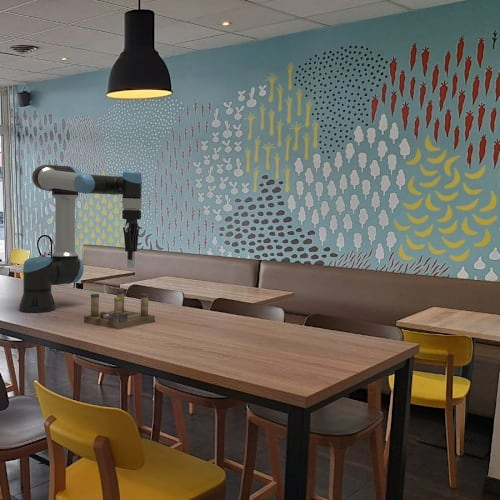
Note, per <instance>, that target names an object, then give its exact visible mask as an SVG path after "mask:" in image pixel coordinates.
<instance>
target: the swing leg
mask: <svg viewBox="0 0 500 500" xmlns="http://www.w3.org/2000/svg"><path fill="white" fill-rule="evenodd" d="M113 301H114V302H113V311H114V314H122V297H117V296H116V297H113ZM106 312H107V311H101V312H99V313H100V317H102V318H106V319H109V314H106Z"/></svg>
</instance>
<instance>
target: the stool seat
mask: <svg viewBox="0 0 500 500" xmlns="http://www.w3.org/2000/svg"><path fill="white" fill-rule="evenodd" d="M125 293H126V292H125V290H116V297H122V314H114V310H111V311H105V312H106V314H109V319H106V318H102V317H100V312H99V310H100V309H99V300H100V299H99V297H100V294H99V293H91V294H90V314H88V315H84V316H83V323H85V324H92V325H95V326H100V327H106V328H110V329H115V330H121V329H125V328H131V327H136V326H141V325H145V324H150V323H155V321H156V317H155V316H156V315H153V314H149V297H150V296H149V294H148V293H141V294H140V312H135V311H130V310H126V309H125Z"/></svg>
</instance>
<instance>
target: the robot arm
mask: <svg viewBox="0 0 500 500" xmlns="http://www.w3.org/2000/svg"><path fill="white" fill-rule="evenodd" d="M142 177H143V176H142V173H141V171H138V170H136V171H135V170H124V171H123V172H122V176H116V175H102V174H100V175H99V174H89V173H83V172H82V171H81V170H80V169H79V168H77V167H74V166H70V165H57V164H56V165H54V164H42V165H39V166H38V167H36V168H35V169H34V171H33V172H32V175H31V179H32V182H33V185H34V186H35V187H36V188H37V189H39V190H42V191H47V192H51V196H52V197H53V198H54V199H55V203H54V204H55V208H54V209H55V212H54V214H55V218H54V220H55V225H54V226H55V227H54V228H55V233H54V234H55V235H54V236H55V239H54V241H55V244H54V245H55V250H54V252H53V253H52V254H51V257H50V256H35V257H29V258H27V259H26V260H25V261H24V263H23V269H22V271H23V272H22V273H23V292H22V293H23V294H22V297H21V300H20V302H19V307H18V308H19V309H18V310H19V311H20V312H24V313H48V312H53V311H55V310H56V302H55V300H54V296H53V294H52V286H55V285H70V284H75V283H77V282H79V281H80V280H81V279H82V277H83V273H84V263H83V260H82V259H81V258H79V254H78V253H77V252H76V199H77V198H78V197H79V193H80V194H96V195H97V194H98V195H110V196H113V195H114V196H118V195H122V200H121V204H122V212H121V214H122V217H121V218H122V219H123V220H126V221H125V225H124V226H123V227H122V231H123V238H124V239H123V240H124V241H123V242H124V251H125V252H127V253H126V256H127V258H126V259H127V261H126V264H127V265H126V268H127V269H128V268H129V269H134V268H135V267H136V252H138V244H139V233H140V229H141V228H140V226H139V225H138V220H141V219H142V211H141V209H142V188H143V187H142V185H143V181H142Z"/></svg>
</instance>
